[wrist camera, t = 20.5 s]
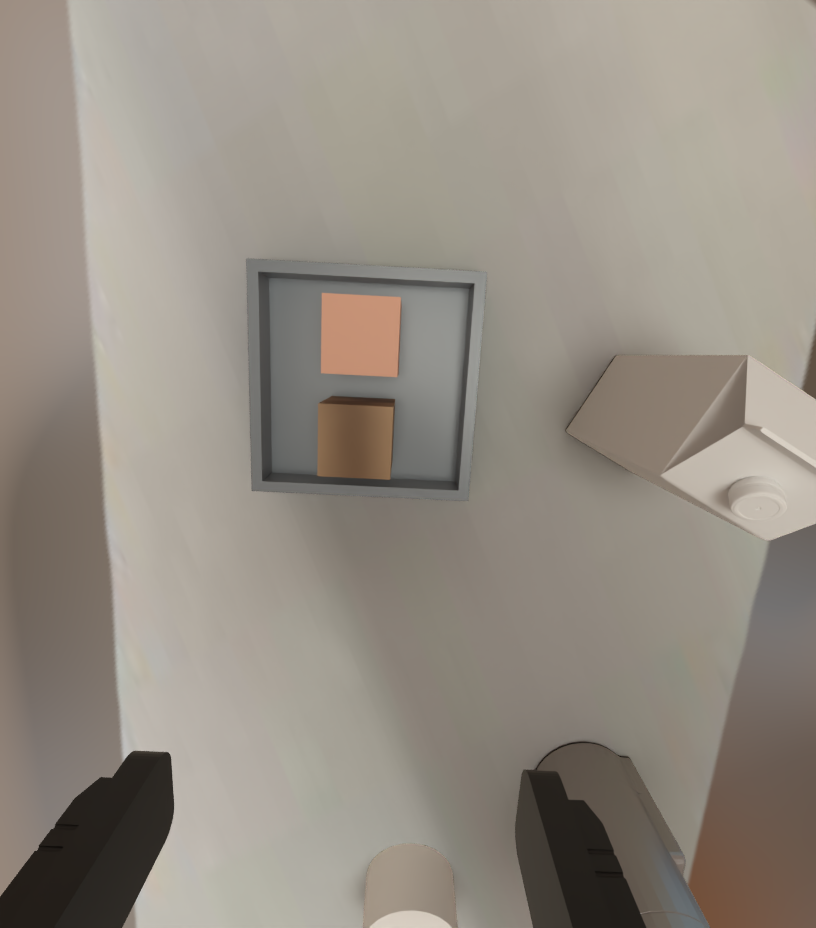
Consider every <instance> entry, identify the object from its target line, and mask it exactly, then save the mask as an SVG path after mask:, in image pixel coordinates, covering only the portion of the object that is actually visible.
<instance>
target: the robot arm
mask: <svg viewBox="0 0 816 928" xmlns="http://www.w3.org/2000/svg"><path fill="white" fill-rule="evenodd" d="M173 813H174V796H173V781H172V766H171V756H170V754H169V753H168V752H150V751H133V752H131V753H130V754H129V755H128V756H127V758H126V759H125V760H124V762H123V763H122V765H121V766H120V767H119V769H118V770H117V772H116V773H115V775H114V776H113V777H112V778H103V777H101V778H99V779H98V780H97V781H95V782H94V783H93V784H92V785H91V786H89V787H88V788H87V789H86V790H84V792H82V793H81V794H80V795H78V796H77V797H76V798H75V799H74V800H73V801H72V803H71V804H70V805H69V807H68V808H67V809H66V811H65V812H64V813H63V815H62V816H61V817H60V819H59V820H58V821H57V822H56V824H55V828H54V829H51V830H50V832H49V833H48V834H47V836H46V837H45V838H44V840H43V841H42V842H41V844H40V845H39V848H38V850H37V851H34V853H33V854H32V855H31V857H30V858H29V859H28V861H27V862H26V863H25V865H24V866H23V867H22V869H21V870H20V871H19V873H18V874H17V875H16V877H15V878H14V879H13V881H12V882H11V883H10V884H9V886H8V887H7V888H6V890H5V891H4V892H3V894H2V895H1V896H0V928H122V927H123V925H124V923H125V921H126V918H127V917H128V915H129V913H130V911H131V909H132V907H133V905H134V903H135V901H136V899H137V897H138V895H139V893H140V891H141V889H142V887H143V885H144V883H145V881H146V879H147V877H148V875H149V873H150V871H151V869H152V867H153V865H154V863H155V861H156V859H157V857H158V855H159V853H160V851H161V849H162V847H163V845H164V843H165V841H166V839H167V836H168V834H169V831H170V827H171V824H172V819H173ZM515 837H516V848H517V855H518V860H519V865H520V869H521V874H522V878H523V883H524V888H525V892H526V897H527V901H528V906H529V910H530V915H531V919H532V924H533V928H710V926H709V924H708V923H707V920H706V919H705V917H704V915H703V913H702V911H701V909H700V907H699V905H698V904H697V902H696V900H695V898H694V896H693V894H692V892H691V891H690V889H689V887H688V885H687V883H686V881H685V879H684V877H683V873H684V869H685V864H686V861H685V857H684V854H683V852H682V851H681V849H680V847H679V845H678V843H677V842H676V840H675V838H674V836H673V835H672V833H671V831H670V829H669V827H668V826H667V824H666V822H665V820H664V818H663V817H662V815H661V813H660V811H659V809H658V808H657V806H656V804H655V802H654V800H653V799H652V797H651V795H650V793H649V791H648V790H647V788H646V786H645V784H644V782H643V781H642V779H641V777H640V775H639V774H638V772H637V770H636V768H635V766H634V765H633V763H632V761H631V759H630V758H623V757H619V756H617V755H616V754H615V753H613V752H612V751H611V750H609V749H607V748H605V747H603V746H600V745H596V744H592V743H578V744H571V745H568V746H564V747H561V748H559V749H558V750H556V751H554V752H552V753H551V754H550V755H548V756H547V757H546V758H545V759H544V760H543V761H542V762H541V763H540V765H539V766H538V768H537V770H523V772H522V776H521V784H520V792H519V799H518V807H517V815H516V824H515Z"/></svg>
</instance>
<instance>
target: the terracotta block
mask: <svg viewBox="0 0 816 928" xmlns="http://www.w3.org/2000/svg"><path fill="white" fill-rule="evenodd" d="M401 309H402V305H401V297H389V296H371V295H353V294H334V293H322V317H321V373H324V374H344V375H363V376H383V377H398V374H399V353H400V331H401Z"/></svg>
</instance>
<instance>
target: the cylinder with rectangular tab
mask: <svg viewBox="0 0 816 928" xmlns="http://www.w3.org/2000/svg"><path fill="white" fill-rule="evenodd" d="M363 928H458V926H457V915H456V904H455V893H454V882H453V872H452V869H451V866H450V864H449V862H448V861H447V859H446V858H445V857H444V856H443V855H442V854H441V853H439V852H438V851H437V850H435V849H433V848H430V847H428V846H426V845H421V844H415V843H409V844H399V845H395V846H391V847H389V848H387V849H385V850H384V851H382V852H380V853H379V854H378V855H377V856H376V857H375V858H374V859H373V860H372V862H371V864H370V865H369V868H368V871H367V876H366V889H365V903H364V916H363Z"/></svg>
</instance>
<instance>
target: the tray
mask: <svg viewBox="0 0 816 928" xmlns="http://www.w3.org/2000/svg"><path fill="white" fill-rule="evenodd" d="M246 269H247V311H248V353H249V396H250V438H251V480H252V491H264V492H286V493H307V494H328V495H349V496H370V497H392V498H413V499H434V500H455V501H468V498H469V486H470V474H471V462H472V450H473V438H474V426H475V414H476V402H477V390H478V378H479V365H480V353H481V341H482V329H483V317H484V305H485V293H486V281H487V272H484V271H466V270H448V269H430V268H411V267H393V266H375V265H357V264H339V263H321V262H303V261H285V260H267V259H248V258H246ZM322 293H334V294H353V295H371V296H389V297H401V305H402V309H401V331H400V353H399V374H398V377H383V376H363V375H344V374H324V373H321V317H322ZM331 396H344V397H364V398H383V399H395V415H394V437H393V459H392V468H391V477H390V480H384V479H364V478H343V477H323V476H317V467H318V403H320V402H321V401H323V400H325V399H327V398H329V397H331Z"/></svg>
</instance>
